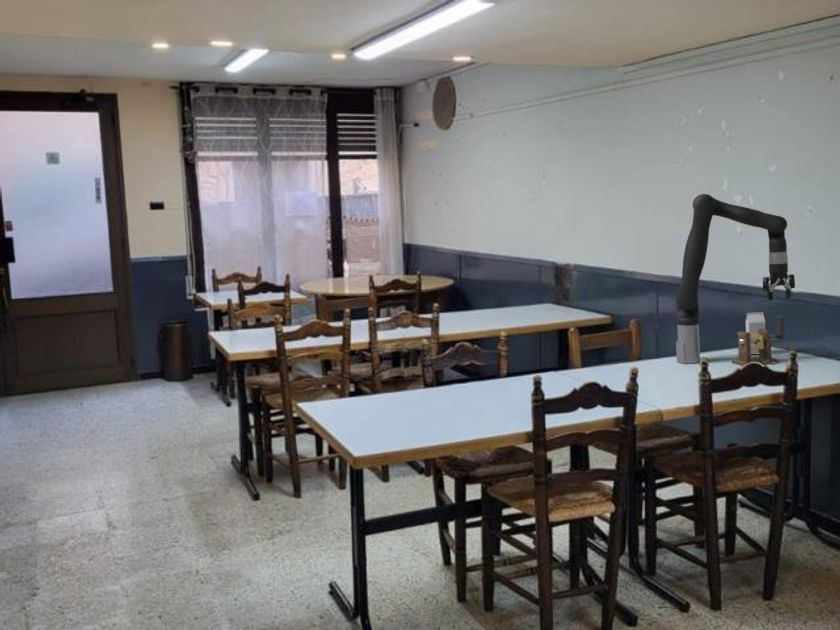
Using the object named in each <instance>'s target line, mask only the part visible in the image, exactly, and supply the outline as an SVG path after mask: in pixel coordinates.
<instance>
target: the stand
mask: <svg viewBox="0 0 840 630" xmlns="http://www.w3.org/2000/svg"><path fill="white" fill-rule="evenodd" d="M771 330H772V329H771ZM771 330H770V329H766V328H765V329H758V334H762V335H763V337H764V341H763V348H764V349H759V355H758V356H752V355H751V345H750V333H748V332H746V331H742V330H741V331H737V346H738V347H737V349H738V350H737V352H738V353H737V354H738V355H737V356H738V358H737V359H736V358H734V359H731V364H734V365H738V366H741V367H744V366H743V365H745V364H747V363H750V362H759V363H761V364H763V365H769V364H768V363H771V364H773V363H772V362H779V360H780V359H779V358H775V357H772V340H771V336H772V332H771ZM741 339H744V344H739V340H741ZM779 363H780V362H779Z"/></svg>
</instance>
